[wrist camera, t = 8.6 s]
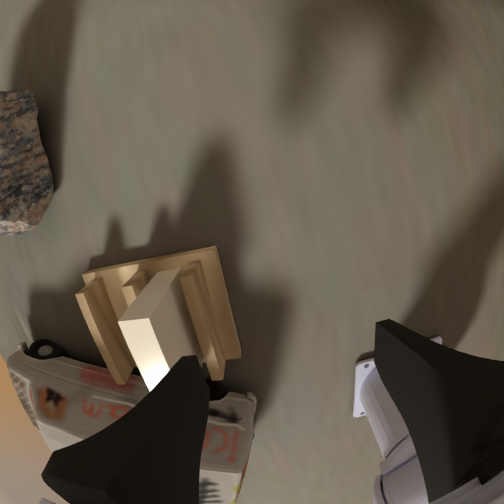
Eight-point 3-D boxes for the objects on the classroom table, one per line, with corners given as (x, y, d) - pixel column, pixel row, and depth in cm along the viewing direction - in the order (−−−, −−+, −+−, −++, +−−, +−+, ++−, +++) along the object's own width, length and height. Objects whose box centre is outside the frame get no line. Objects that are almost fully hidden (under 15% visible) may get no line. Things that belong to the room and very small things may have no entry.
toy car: (28, 330, 23) (-25, 381, 13) (258, 377, 24) (261, 472, 14) (52, 398, 26) (18, 450, 16) (245, 442, 27) (245, 517, 17)
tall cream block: (180, 268, 19) (149, 318, 13) (205, 350, 21) (191, 416, 15) (157, 272, 19) (117, 321, 13) (184, 353, 21) (164, 416, 15)
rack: (216, 245, 20) (208, 264, 16) (241, 350, 22) (240, 383, 19) (87, 270, 20) (61, 289, 17) (124, 361, 23) (108, 388, 19)
